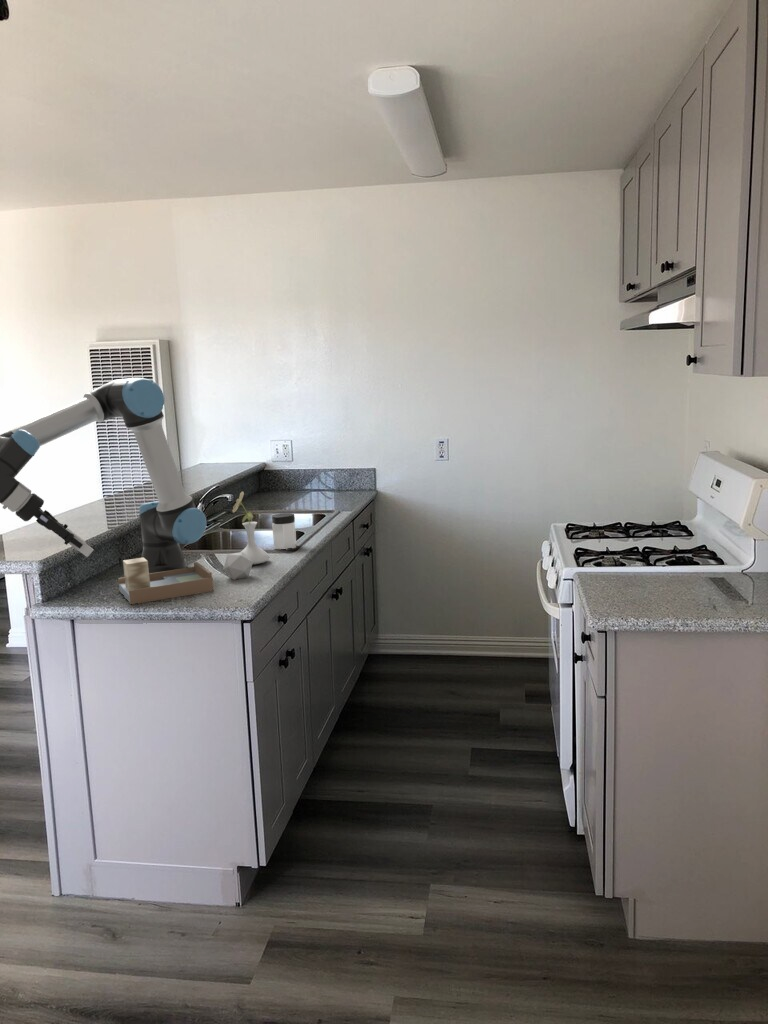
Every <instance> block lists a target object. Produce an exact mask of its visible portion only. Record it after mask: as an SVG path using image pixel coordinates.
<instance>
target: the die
mask: <svg viewBox="0 0 768 1024" xmlns="http://www.w3.org/2000/svg"><path fill="white" fill-rule="evenodd" d="M252 564H253V562H252V561H251V560H250V559H249V558H248V557H247V556H246V555H245V554H244V553H243V552H241V551H239V552H235V553H234V552H233V553H228V554H227V556H226V559H225V562H224V566H223V568H222V571H224V572H225V573H226V574H227V575H228V576H229V577H230V578H231V579H232V580H233V581H235V580H241V579H246V578H249V576H250V574H251V570H252V566H253V565H252Z"/></svg>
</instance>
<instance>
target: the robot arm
mask: <svg viewBox="0 0 768 1024" xmlns="http://www.w3.org/2000/svg"><path fill="white" fill-rule="evenodd" d="M164 405H165V396H164V392H163V390H162V388H161V387H160V386H159V385H158V383H157V382H155V381H153V380H151V379H148V378H144V377H131V378H119V379H118V378H117V379H114V380H110V381H109V382H107V383H105V384H103V385H101V386H99V387H96V388H95V389H93V390H90V391H89V392H86V393H85V394H84V395H83V398H81V399H79V400H77V401H75V402H72V403H69V404H67V405H66V406H62V407H61V408H59V409H56V410H54V411H52V412H51V411H50V412H49V413H47V414H44V415H42V416H40V417H38V418H36V419H34V420H32V421H29V422H27V423H24V424H22V425H20V426H18V427H16V428H15V427H14V428H12V429H11V430H9V431H7V432H4V433H1V434H0V504H1V505H2V509H3V510H6V509H8V510H9V511H10V512H12V513H14V512H15V515H16V516H17V517H19V519H21V520H23V522H29V521H30V520H32V518H35V519H36V521H35V522H36V523H37V524H39V525H40V526H43V527H44V528H46V529H47V530H49V531H52V532H53V533H54V534H56V535H57V536H58V537H60V538H61V539H62V540H64V542H63V544H65V545H66V546H67V545H69V546H71V547H72V548H74V549H75V550H77V551H78V552H79V553H81V554H82V555H84V556H85V557H86V558H89V556H90V555H91V554H92V552H93V551H94V548H92V547H91V546H90V545H88V544H87V543H86V542H87V541H85V540H84V539H83V538H81V536H79V535H77V534H76V533H75V532H73V531H72V530H70V528H68V527H69V525H68V524H66V523H65V524H63V523H61V522H59V521H58V519H56V517H55V516H53V514H51V513H50V512H49V511H48V510H46V509H45V510H43V509H42V507H43V505H44V504H45V503H44V502H45V500H44V499H43V498H41V497H40V496H39V495H37V494H36V493H34V492H33V493H32V490H31V489H29V487H27V486H25V484H23V483H22V482H21V481H19V480H17V479H16V476H17V475H18V474H19V473H20V472H21V471H22V469H23V468H24V467H25V466H26V465H27V463H28V462H30V460H31V459H32V458H33V457H35V455H36V453H37V452H38V450H39V449H40V448H41V447H42V446H43V445H46V444H48V443H51V442H53V441H54V440H57V439H59V438H62V437H63V436H66V435H67V434H70V433H72V432H75V431H76V430H79V429H81V428H83V427H86V426H87V425H90V424H92V423H94V422H97V423H102V422H104V421H107V420H109V419H115V418H122V420H123V422H124V424H125V427H126V428H127V429H128V430H130V431H131V432H133V435H134V436H135V440H136V443H137V446H138V448H139V450H140V451H139V452H140V453H141V457H142V459H143V463H144V464H145V467H146V470H147V473H148V476H149V479H150V481H151V484H152V487H153V489H154V492H155V495H156V497H157V501H156V500H155V501H150V502H145V503H141V504H140V505H139V508H138V509H139V515H138V516H139V520H140V521H139V522H140V530H141V539H142V541H141V542H142V552H141V557H140V558H143V557H144V558H145V559H146V560H147V561H148V569H149V573H156V572H163V571H169V570H176V569H182V568H187V566H188V565H187V559H186V558H185V555H184V553H183V551H182V548H181V545H186V544H187V545H189V544H190V545H191V544H194V543H195V542H198V541H199V540H200V539H201V538H202V537H203V535H204V533H205V531H206V530H207V529H206V528H207V518H206V515H205V513H204V512H203V511H202V510H201V509H199V508H198V507H196V506H195V505H196V504H195V502H194V499H193V496H191V495H189V494H187V493H186V492H185V489H184V486H183V483H182V481H181V477H180V475H179V474H180V473H179V472H178V469H177V466H176V463H175V460H174V457H173V454H172V452H171V448H170V445H169V442H168V440H167V437H166V434H165V431H164V428H163V425H162V422H163V420H164V418H165V417H164V413H163V408H164Z"/></svg>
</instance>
